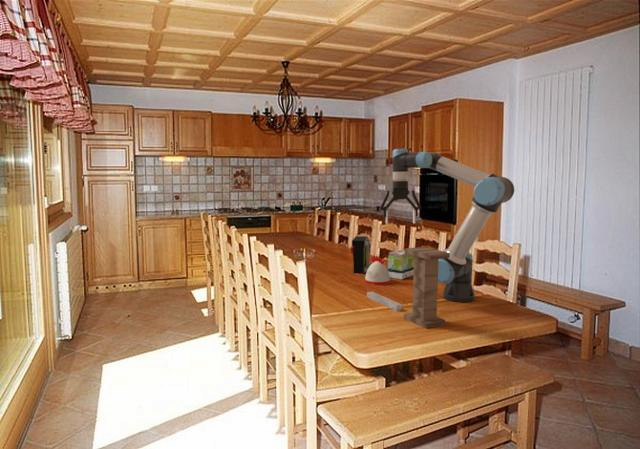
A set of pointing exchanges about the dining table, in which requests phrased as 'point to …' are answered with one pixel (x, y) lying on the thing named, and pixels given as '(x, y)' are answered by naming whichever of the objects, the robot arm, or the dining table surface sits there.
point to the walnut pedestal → (425, 286)
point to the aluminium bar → (384, 301)
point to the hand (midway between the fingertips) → (400, 223)
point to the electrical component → (360, 254)
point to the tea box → (400, 264)
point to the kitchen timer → (377, 272)
